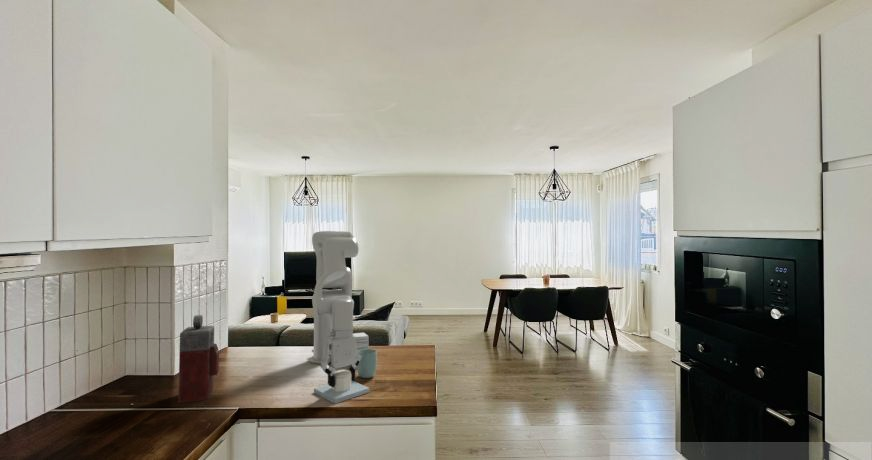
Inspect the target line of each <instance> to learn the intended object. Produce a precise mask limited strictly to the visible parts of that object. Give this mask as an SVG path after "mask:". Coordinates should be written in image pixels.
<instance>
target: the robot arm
mask: <svg viewBox="0 0 872 460" xmlns="http://www.w3.org/2000/svg"><path fill="white" fill-rule="evenodd" d="M311 243H312V247H313V251H314V253H315V256H316V268H315V269H316V273H315V274H316V275H315V277H316V278H315V280H316V284H315V287H314V289H313V290H314V291H313V295H312V297H311V298H312V299H311V302H312V304H311V305H312V311H313V349H311V352H312V354H313V355H312V356H311V357H310V358H309V362H310V363H312V364H317V365H320V366H319V367H320V368H321V369H322V370H323V372H324V373H325V374H326V375H327V384H328V385H329V386H331V387H334V386H335V375H333V374H334V372H335V371H337V370H339V369H342V368H345V367H349V368H348V370H350V371H351V374H352V381H354V382H356V370H357V366H358V364H359V361H360V360H361V358H362V356H361V355H360V354H358V353H357V345H356V339H355V336H353V334H354V308H355V301H354V299H353V298H352V296H353V295H352V293H353V272H352V270H351V268H350V267H348V266H346V265H347V264H346V258H356V257H357V256H358V255H359V249H360V248H359V242H358V240H357V238H356V237H355V235H354V234H353V233H352V232H351V231H343V230H342V231H336V230H335V231H334V230H332V231H331V230H324V231H323V230H321V231H316V232H314V233H313V234H312V237H311ZM330 288H335V289H330ZM337 288H340V289H337ZM323 289H324V290H323ZM325 289H326V290H325ZM327 366H328V367H327Z"/></svg>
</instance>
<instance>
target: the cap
mask: <svg viewBox="0 0 872 460" xmlns="http://www.w3.org/2000/svg"><path fill="white" fill-rule="evenodd" d="M333 375H335V386H334V387H332V390H334V391H336V392H338V391H347V390H350V389H351V382H352V374H351V371H350V370H349V369H336V370H335V372H334V374H333Z"/></svg>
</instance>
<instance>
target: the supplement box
mask: <svg viewBox="0 0 872 460" xmlns="http://www.w3.org/2000/svg"><path fill="white" fill-rule="evenodd" d="M353 336H355V339H356V345H357V351H359V350H363V349H369V345H370V344H369V340H370V339H369V337H370V336H369V335H368V334H366V333H365V332H353Z"/></svg>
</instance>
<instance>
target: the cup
mask: <svg viewBox="0 0 872 460" xmlns="http://www.w3.org/2000/svg"><path fill="white" fill-rule="evenodd" d="M357 353H358V354H360V355H361V356H362V358H361V360H360V361H359V364H358V366H357V369H356V373H357V375H358V376H359V377H360V378H362V379H370V378H373V377H374V376H375V374H376V372H377V364H378V351H377V349H373V348H368V349H363V350H359V351H357Z"/></svg>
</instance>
